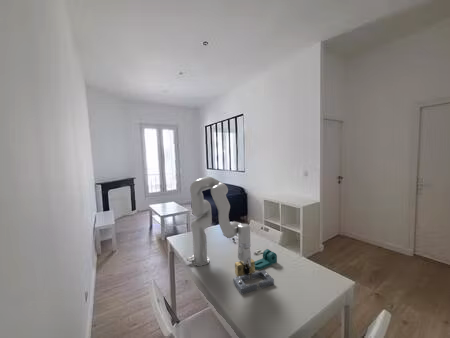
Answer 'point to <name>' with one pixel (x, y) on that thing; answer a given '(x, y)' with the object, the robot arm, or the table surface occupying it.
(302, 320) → the table surface
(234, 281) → the grey pocketed fixture tray
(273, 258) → the bracket
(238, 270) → the yellow rectangular block
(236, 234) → the miniature set
